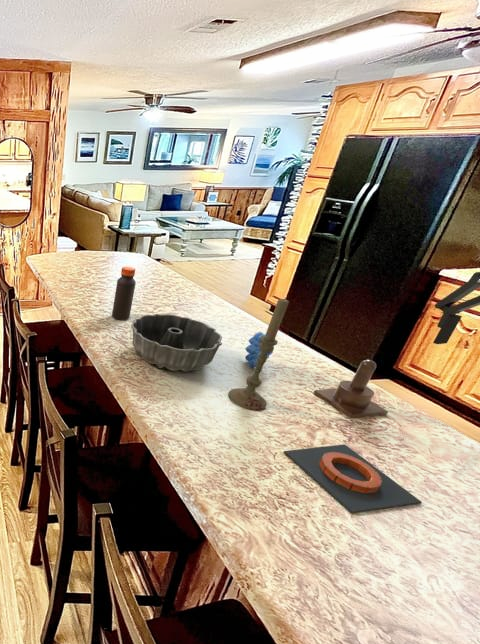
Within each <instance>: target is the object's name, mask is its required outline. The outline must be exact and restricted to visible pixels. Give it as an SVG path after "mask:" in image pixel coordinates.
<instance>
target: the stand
mask: <svg viewBox="0 0 480 644" xmlns="http://www.w3.org/2000/svg"><path fill="white" fill-rule="evenodd" d="M376 368H377V363H376V362H375V361H373V360H372V359H365V360H362V361H361V362H360V364H359V366H358V368H357V370H356V372H355V374H354V376H353V377H352V379H351V380H341V381H340V382H339V383H338V385H337V387H336V388H334V387H333V388H324V389H315V390H314V391H313V394H314V395H316V396H317V397H319V398H320V399H322V400H323V401H325V402H326V403H328V404H329V405H330V406H332V407H334V408H335V409H337V410H338V411H340V412H341V413H343V414H344V415H346V417H349V418H350V419H355V418H364V417H365V418H366V417H376V416H384V415H388V414H389V411H388V410H387V409H385V408H384V407H382V406H380V405H379V404H377V403H375V402H374V401H373V400H372V399H373V398H374V396H375V392H374V390H373V389H371V388H370V387H368V384H369V382H370V380H371V378H372V376H373V375H374V373H375V370H376Z"/></svg>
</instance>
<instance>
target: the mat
mask: <svg viewBox="0 0 480 644" xmlns="http://www.w3.org/2000/svg"><path fill="white" fill-rule="evenodd" d="M330 452H335V453H336V452H338V453H342V454H346V455H349V457H350V456H352V457H355V458H357V459H359V460H361V461H363V463H366V464H368V465H369V466H370V467H372V468H373V469H374V470H376V472H377V473H378V474H379V476H380V477H381V479H382V483H381V485H380V487H379V489H378V490H377V492H374V493H361V492H357V491H353V490H350V488H349V489H347V488H346V487H344V486H342V485H340V484H338V483H336V482H335V481H333V480H332V479H331V478H329V477H328V476H327V475H326V474H325V473H324V472H323V471H322V469H321V467H320V465H319V464H320V461H321V459H322V457H323V456H324V454H326V453H330ZM283 454H284V455H286V456H287V457H288V458H289V459H290V460H291V461H292V462H294V463H295V464H296V465H297V467H299V468H300V469H301V470H302V471H303V472H304V473H306V474H307V476H308V477H310V478H311V479H312V480H313V481H314V482H316V483H317V484H318V485H319V486H320V487H321V488H322V489H323V490H324V491H326V492H327V493H328V494H329V495H330V496H331V497H332V498H334V500H336V501H337V502H338V503H339V504H340V505H341V506H342V507H344V508H345V510H347V511H348V512H349V513H350V514H357V513H363V512H365V513H366V512H370V511H378V510H385V509H391V508H399V507H405V506H413V505H420V504H422V500H420V499H419V498H418V497H416V496H415V495H413V494H412V493H411V492H410V491H408V490H406V488H404V487H403V486H402V485H400V484H399V483H398V482H396V481H394V479H392V478H391V477H389V476H388V474H387V475H386V473H384V472H383V471H381V470H380V469H379V468H377V467H376V466H374V465H373V464H372V463H370V462H369V461H368V460H367V459H365V458H364V457H362V456H361V455H359V454H358V453H357V452H356V451H354V449H352V448H351V447H349V446H348V445H346V444H334V445H327V446H325V445H324V446H319V447H307V448H300V449H291V450H290V449H289V450H284V451H283ZM332 464H333V466H334V468H335V469H337V470H338V471H339V472H340V473H341V474H343V475H345V476H347V477H349V478H351V479H354V480H358V481H362V482H364V481H368V480H367V478H366V477H365V475H363V474H362V473H361V472H359V471H358V470H357V469H354V468H352V467H350V466H348V465H346V464H341V463H332Z"/></svg>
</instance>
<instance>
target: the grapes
mask: <svg viewBox="0 0 480 644" xmlns="http://www.w3.org/2000/svg"><path fill="white" fill-rule="evenodd" d="M265 335H266V333H263V332H260V331H259V332H256V333H255V334H254V335H252V337H250V338H249V339H248V342H249V345H247V346H246V347H245V351H246V352H247V353H248V354H247V355H245V356H244V359H245V360H246V361H247V365H248V366H249V367H250V368H252V369H254V368H255V366H256V363H257V358H258V357H259V354H260V353H261V350H260V349H259V347H258V346H259V344H261V341H260V338H261V337H265ZM273 353H274V350H273V351H272V352H270V353H267V360H268V359H269V358H270V356H271V355H272V354H273ZM265 363H266V362H265ZM265 363H264V365H265Z"/></svg>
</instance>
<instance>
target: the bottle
mask: <svg viewBox="0 0 480 644" xmlns="http://www.w3.org/2000/svg"><path fill="white" fill-rule="evenodd" d="M120 275H121V276H120V277H118V279H117V280H116V286H115V287H116V288H115V293H114V300H113V304H112V312H111V317H112V318H113V319H115V320H118V321H127V320H129V319H130V316H131V311H132V307H133V306H132V305H133V300H134V295H135V288H136V280H135V279H134V277H135V275H136V268H135V267H132V266H121V271H120Z"/></svg>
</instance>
